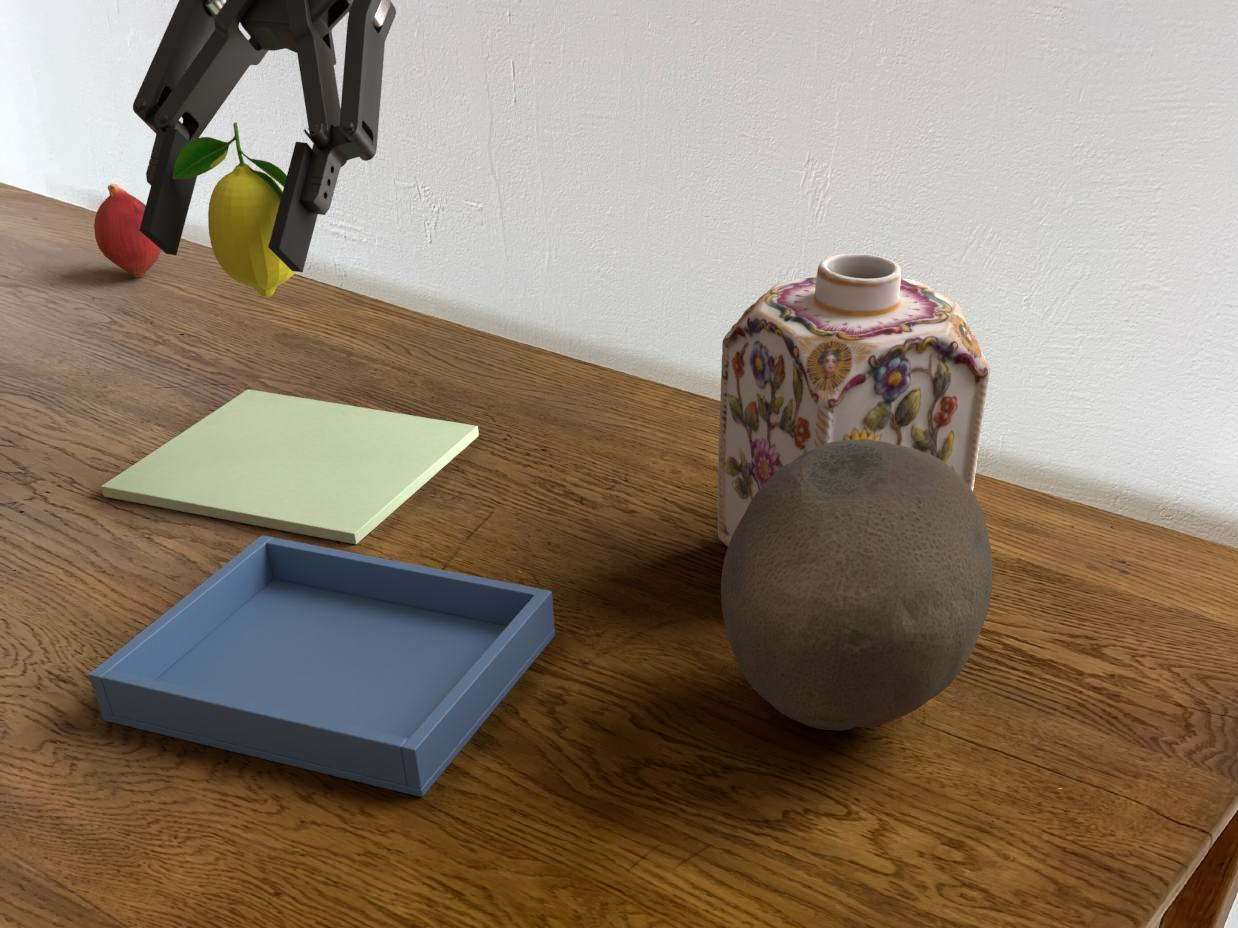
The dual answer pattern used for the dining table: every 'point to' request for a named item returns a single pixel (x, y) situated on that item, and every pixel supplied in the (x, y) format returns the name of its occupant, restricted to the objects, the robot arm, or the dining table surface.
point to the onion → (124, 233)
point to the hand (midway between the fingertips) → (221, 251)
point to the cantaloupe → (857, 583)
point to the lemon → (239, 212)
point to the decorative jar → (845, 375)
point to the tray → (330, 662)
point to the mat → (295, 465)
